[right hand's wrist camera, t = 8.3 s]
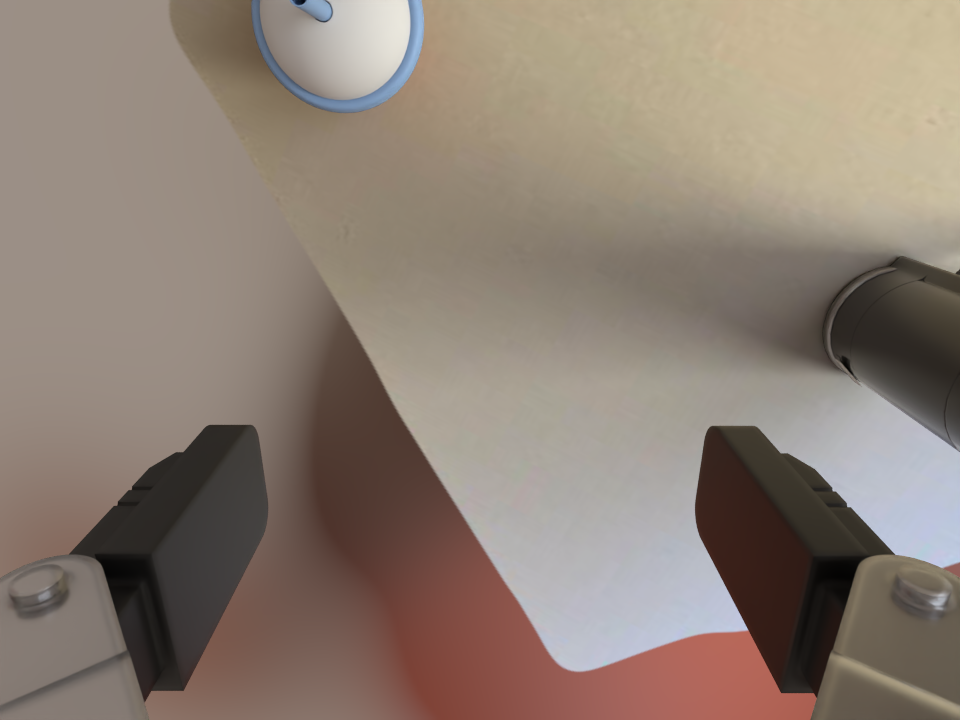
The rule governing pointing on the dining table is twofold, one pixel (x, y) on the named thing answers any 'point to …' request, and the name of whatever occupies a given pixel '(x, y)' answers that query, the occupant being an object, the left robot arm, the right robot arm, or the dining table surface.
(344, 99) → the cup with straw
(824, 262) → the dining table surface
